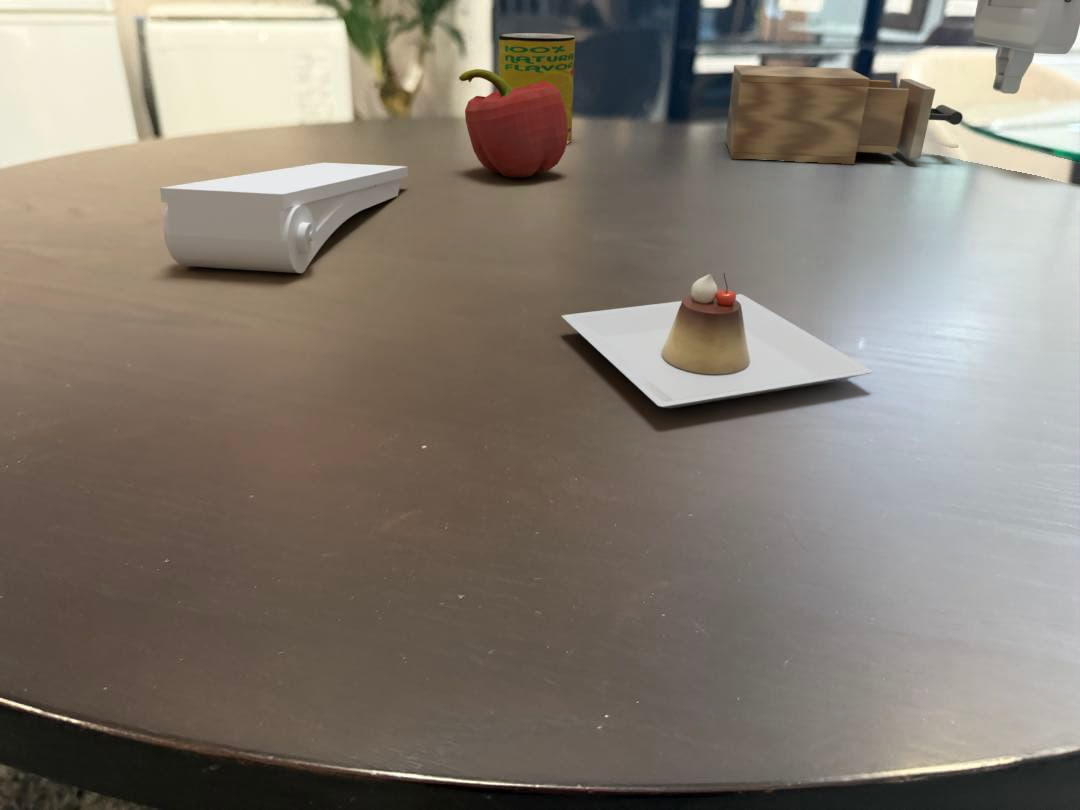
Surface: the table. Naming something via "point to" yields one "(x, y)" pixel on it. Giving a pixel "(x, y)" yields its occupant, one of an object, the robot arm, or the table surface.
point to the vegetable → (516, 126)
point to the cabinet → (796, 113)
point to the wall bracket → (270, 214)
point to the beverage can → (539, 63)
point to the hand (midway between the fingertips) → (1004, 92)
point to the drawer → (900, 117)
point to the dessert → (711, 348)
